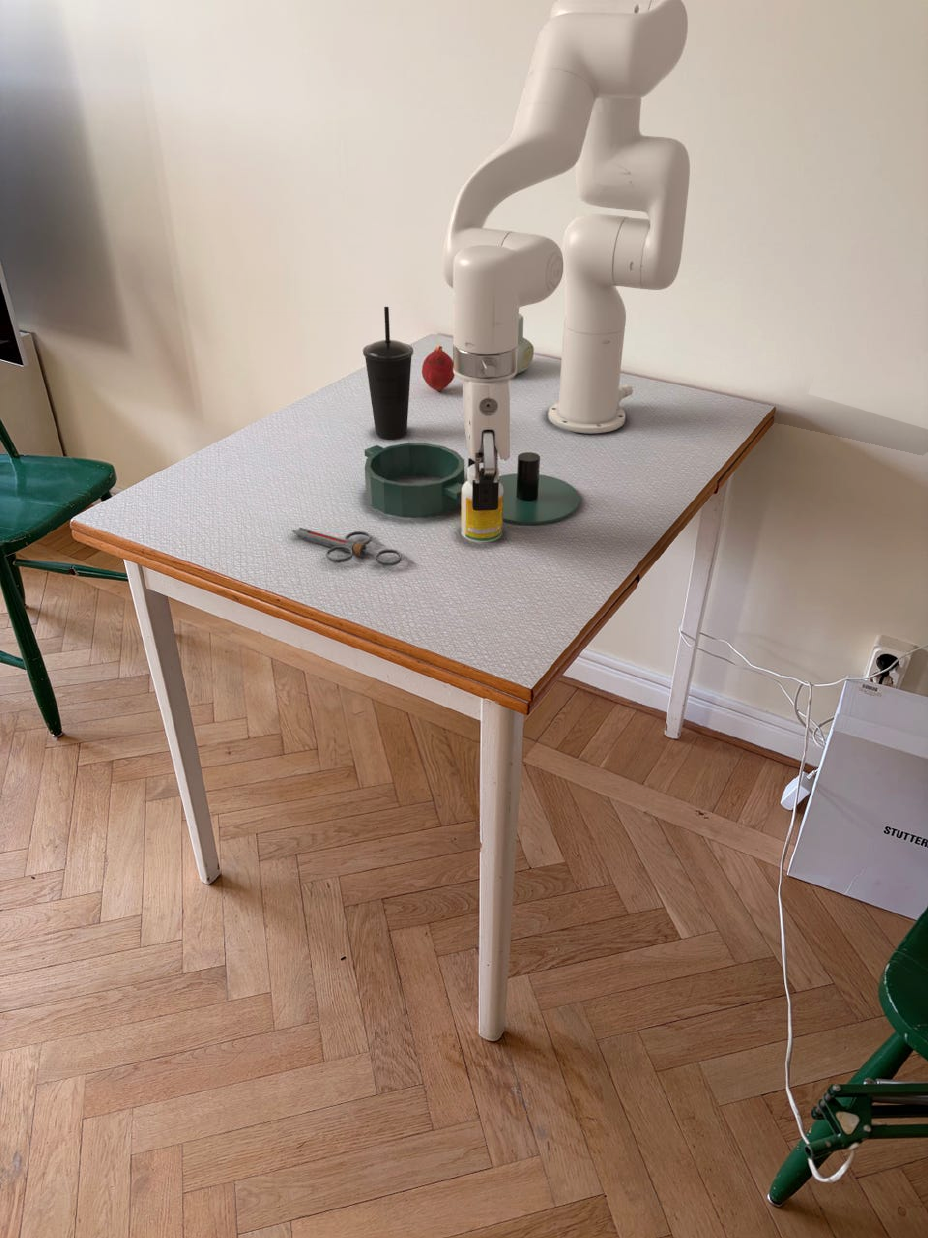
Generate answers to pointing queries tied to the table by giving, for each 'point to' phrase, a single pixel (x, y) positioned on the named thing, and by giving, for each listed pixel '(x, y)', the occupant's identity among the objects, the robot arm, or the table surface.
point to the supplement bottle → (480, 514)
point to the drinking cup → (389, 383)
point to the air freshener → (523, 349)
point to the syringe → (344, 545)
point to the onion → (438, 369)
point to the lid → (536, 495)
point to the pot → (413, 496)
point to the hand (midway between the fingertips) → (482, 496)
